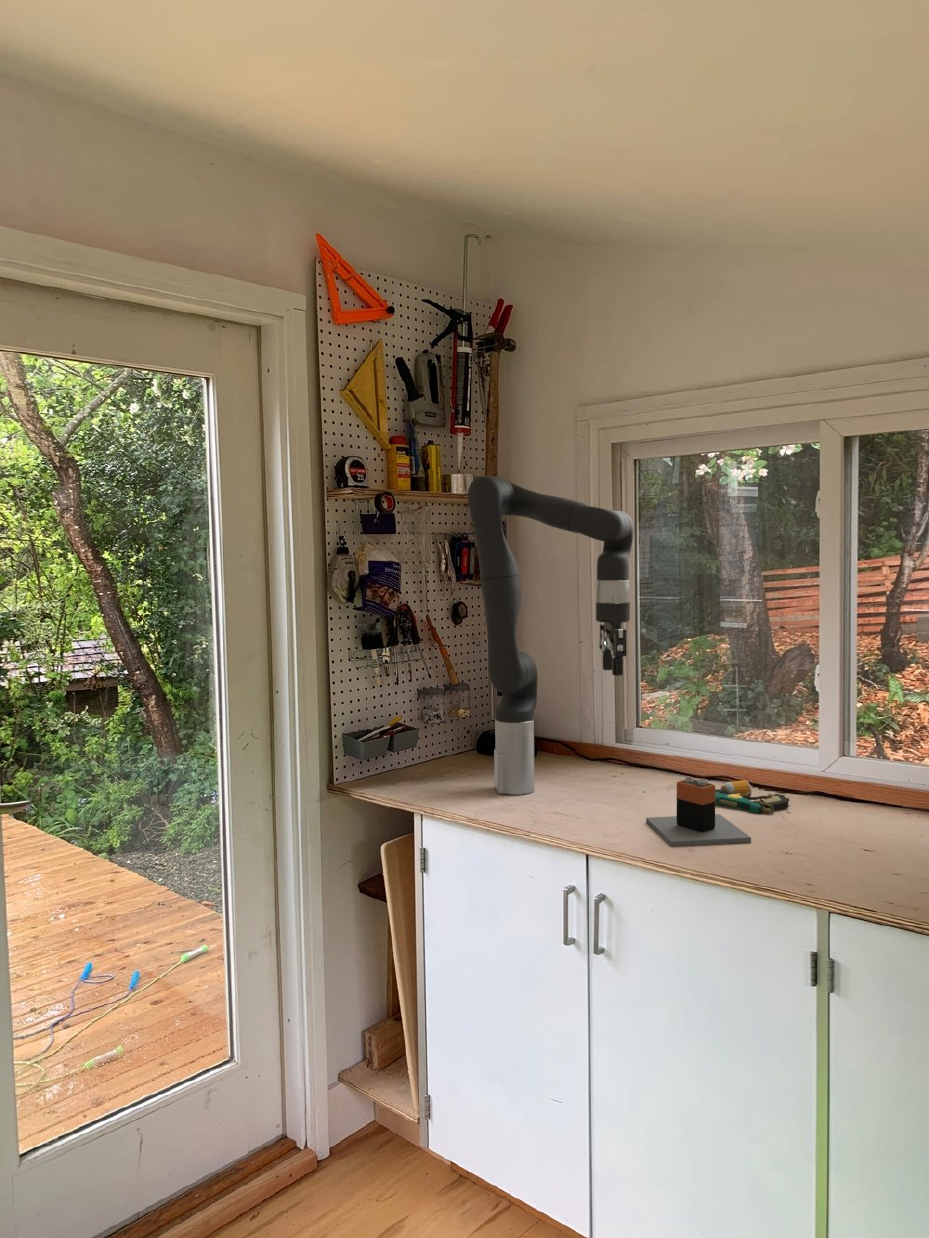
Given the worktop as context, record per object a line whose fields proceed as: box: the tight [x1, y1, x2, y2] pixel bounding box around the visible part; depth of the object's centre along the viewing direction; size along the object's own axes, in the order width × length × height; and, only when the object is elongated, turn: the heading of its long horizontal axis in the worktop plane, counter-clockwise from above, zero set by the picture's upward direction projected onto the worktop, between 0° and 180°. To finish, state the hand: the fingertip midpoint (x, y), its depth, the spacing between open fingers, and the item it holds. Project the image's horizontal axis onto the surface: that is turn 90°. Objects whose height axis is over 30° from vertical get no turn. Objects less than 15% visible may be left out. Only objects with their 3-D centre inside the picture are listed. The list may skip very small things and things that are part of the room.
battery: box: [676, 776, 716, 832], centre depth 185 cm, size 4×7×10 cm, turn 37°
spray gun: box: [715, 779, 790, 815], centre depth 205 cm, size 4×17×15 cm
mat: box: [645, 813, 752, 847], centre depth 186 cm, size 16×16×1 cm
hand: (612, 672), depth 205 cm, fingers open, 8 cm apart
